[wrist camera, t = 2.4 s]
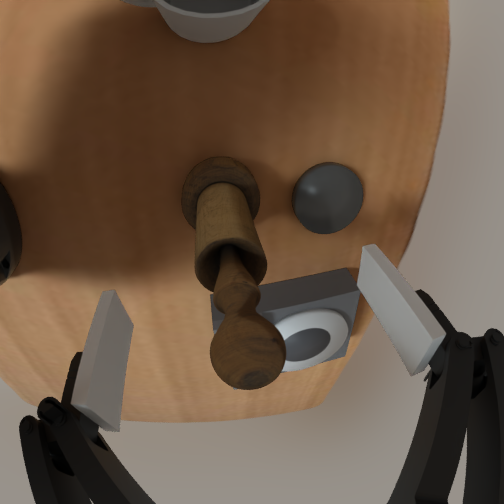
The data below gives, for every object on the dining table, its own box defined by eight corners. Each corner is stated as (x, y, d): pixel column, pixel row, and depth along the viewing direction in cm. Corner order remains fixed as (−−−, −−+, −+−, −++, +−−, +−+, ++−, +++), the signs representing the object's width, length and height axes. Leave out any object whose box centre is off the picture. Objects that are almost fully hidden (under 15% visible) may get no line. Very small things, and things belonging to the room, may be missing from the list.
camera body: (229, 358, 38) (233, 389, 34) (210, 294, 30) (213, 330, 26) (335, 335, 39) (348, 362, 35) (346, 267, 32) (365, 296, 27)
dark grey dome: (293, 233, 28) (296, 239, 27) (290, 166, 24) (294, 170, 23) (355, 222, 28) (360, 228, 27) (359, 159, 24) (365, 163, 23)
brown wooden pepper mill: (178, 161, 22) (138, 336, 7) (254, 153, 23) (357, 305, 8) (188, 229, 26) (187, 421, 11) (256, 221, 26) (322, 400, 12)
